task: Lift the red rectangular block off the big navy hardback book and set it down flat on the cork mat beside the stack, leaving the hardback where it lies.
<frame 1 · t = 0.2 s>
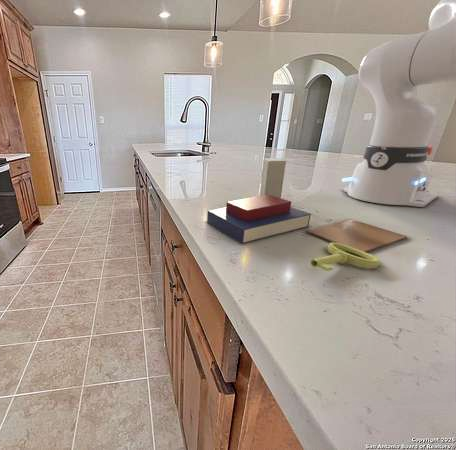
key: (338, 263, 40), on the counter
cosmetic box: (268, 204, 68), on the counter
hardback: (255, 224, 55), on the counter, touching red rectangular block
red rectangular block: (257, 212, 54), point 3 cm above the counter, touching hardback
cork mat: (354, 235, 48), on the counter
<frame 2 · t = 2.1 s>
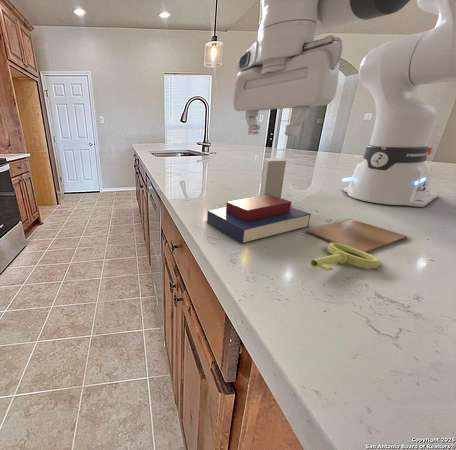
hand: (270, 134, 48), 19 cm above the counter, tool pointing down, fingers open, 8 cm apart
nothing on the counter moved.
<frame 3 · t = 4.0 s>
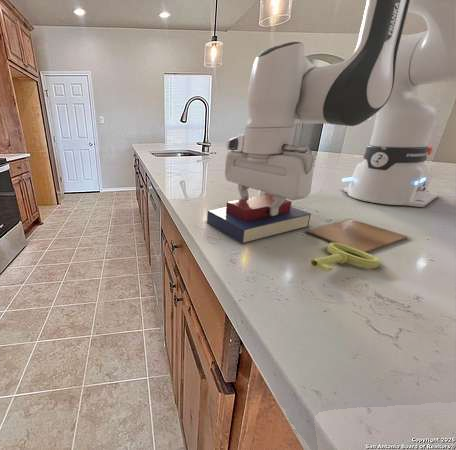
hand: (257, 209, 53), 4 cm above the counter, tool pointing down, fingers closed on red rectangular block, 6 cm apart
red rectangular block: (257, 212, 54), point 3 cm above the counter, touching gripper, hardback
everything else where it was.
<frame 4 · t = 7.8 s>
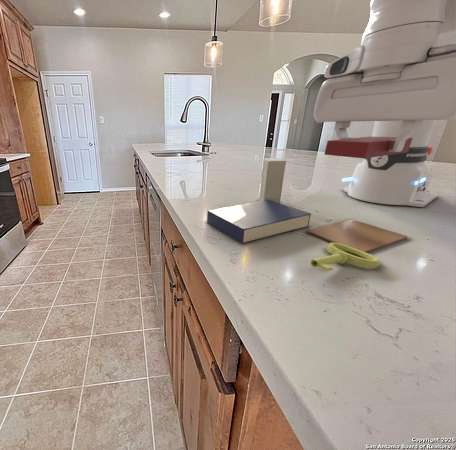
hand: (366, 149, 43), 16 cm above the counter, tool pointing down, fingers closed on red rectangular block, 6 cm apart
hardback: (255, 224, 55), on the counter
red rectangular block: (365, 153, 43), point 16 cm above the counter, touching gripper
everything else where it was.
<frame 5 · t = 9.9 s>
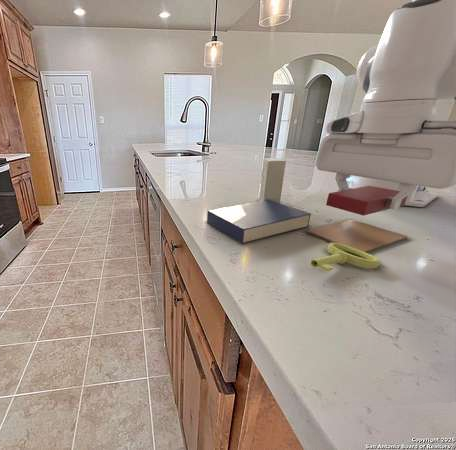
hand: (365, 201, 45), 7 cm above the counter, tool pointing down, fingers closed on red rectangular block, 6 cm apart
red rectangular block: (364, 205, 46), point 6 cm above the counter, touching gripper
everything else where it was.
when the fingers open (1 cm above the counter, at t = 11.9 s): red rectangular block stays where it is, resting on cork mat.
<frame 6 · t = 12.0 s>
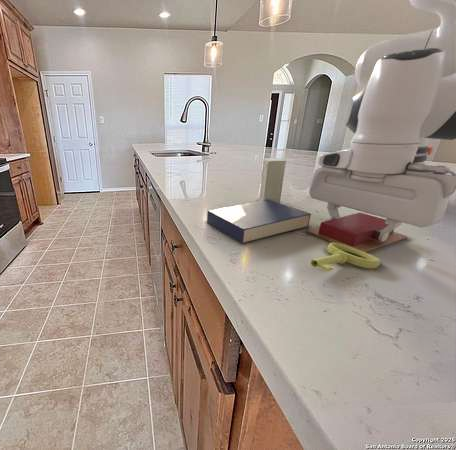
hand: (355, 231, 48), 1 cm above the counter, tool pointing down, fingers open, 7 cm apart
red rectangular block: (354, 233, 48), resting on cork mat
everything else where it was.
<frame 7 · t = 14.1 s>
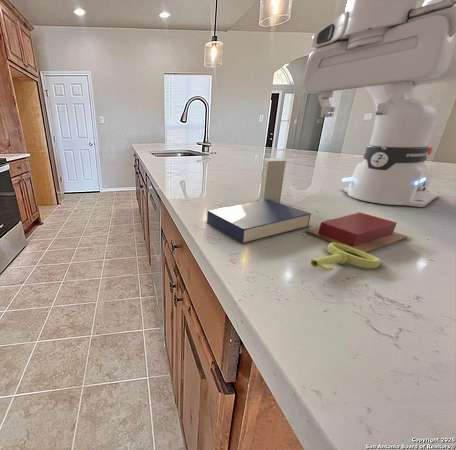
hand: (352, 116, 44), 22 cm above the counter, tool pointing down, fingers open, 8 cm apart
nothing on the counter moved.
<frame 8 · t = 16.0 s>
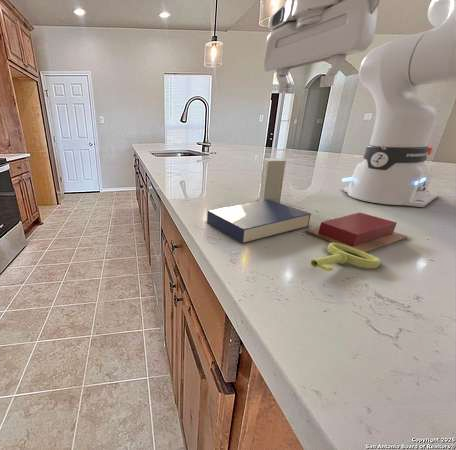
hand: (303, 90, 50), 27 cm above the counter, tool pointing down, fingers open, 8 cm apart
nothing on the counter moved.
at the end: red rectangular block inside the target area (0.1 cm from its centre), resting on cork mat; red rectangular block touching cork mat; hardback moved 0.0 cm from its start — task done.
